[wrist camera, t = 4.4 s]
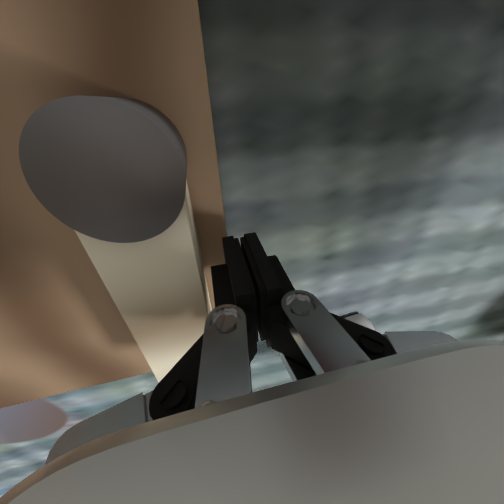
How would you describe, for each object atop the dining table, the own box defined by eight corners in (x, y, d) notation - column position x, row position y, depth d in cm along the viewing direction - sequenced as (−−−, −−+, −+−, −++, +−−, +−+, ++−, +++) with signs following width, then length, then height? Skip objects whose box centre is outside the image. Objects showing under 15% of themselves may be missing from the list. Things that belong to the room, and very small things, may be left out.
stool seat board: (191, -15, 8) (192, -44, 6) (236, 329, 19) (241, 350, 18) (-773, -47, 5) (-1285, -125, 3) (-33, 389, 16) (-57, 421, 14)
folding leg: (61, 99, 7) (-26, 97, 4) (176, 96, 8) (168, 93, 5) (166, 345, 15) (161, 403, 12) (219, 334, 16) (226, 386, 13)
